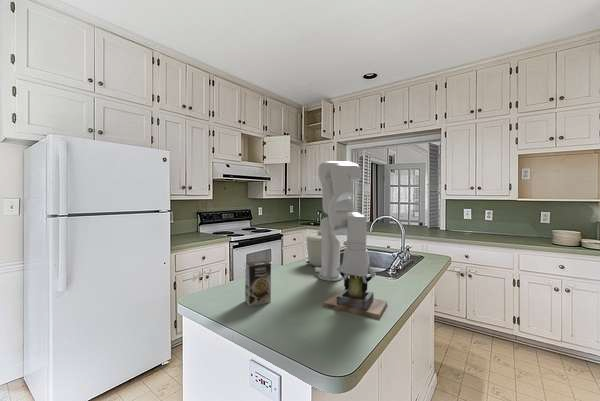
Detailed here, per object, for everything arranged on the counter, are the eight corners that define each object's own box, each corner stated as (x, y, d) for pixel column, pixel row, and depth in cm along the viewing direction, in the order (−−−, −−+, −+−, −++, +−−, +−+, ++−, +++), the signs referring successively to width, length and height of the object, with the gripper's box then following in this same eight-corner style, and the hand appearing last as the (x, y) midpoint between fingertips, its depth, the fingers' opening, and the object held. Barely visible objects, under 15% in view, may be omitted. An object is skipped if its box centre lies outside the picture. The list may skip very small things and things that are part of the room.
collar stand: (323, 306, 114) (323, 295, 113) (335, 294, 126) (335, 284, 126) (379, 318, 103) (379, 306, 103) (387, 304, 116) (387, 293, 115)
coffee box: (249, 306, 113) (249, 266, 112) (244, 300, 118) (244, 262, 117) (271, 302, 117) (271, 263, 116) (265, 297, 122) (265, 259, 122)
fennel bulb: (364, 299, 114) (365, 269, 113) (355, 301, 111) (356, 271, 110) (354, 294, 118) (355, 265, 118) (345, 296, 116) (346, 267, 115)
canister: (300, 266, 169) (301, 231, 168) (310, 259, 186) (310, 227, 185) (330, 270, 163) (331, 233, 162) (337, 262, 180) (338, 228, 179)
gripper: (332, 245, 114) (331, 289, 115) (376, 250, 106) (375, 297, 107) (339, 242, 121) (338, 284, 122) (380, 246, 113) (379, 291, 114)
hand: (355, 290), depth 114 cm, fingers closed on fennel bulb, 6 cm apart
